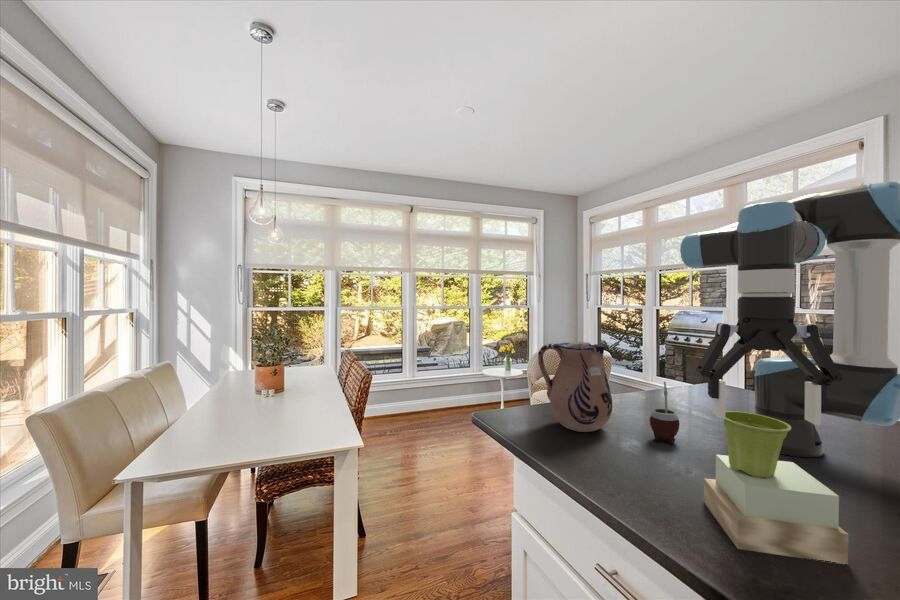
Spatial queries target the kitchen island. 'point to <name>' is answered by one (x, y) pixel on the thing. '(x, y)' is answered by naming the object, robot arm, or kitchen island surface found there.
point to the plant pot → (754, 442)
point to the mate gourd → (664, 423)
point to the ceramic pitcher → (578, 386)
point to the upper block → (779, 494)
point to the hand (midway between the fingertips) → (764, 419)
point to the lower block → (774, 531)
